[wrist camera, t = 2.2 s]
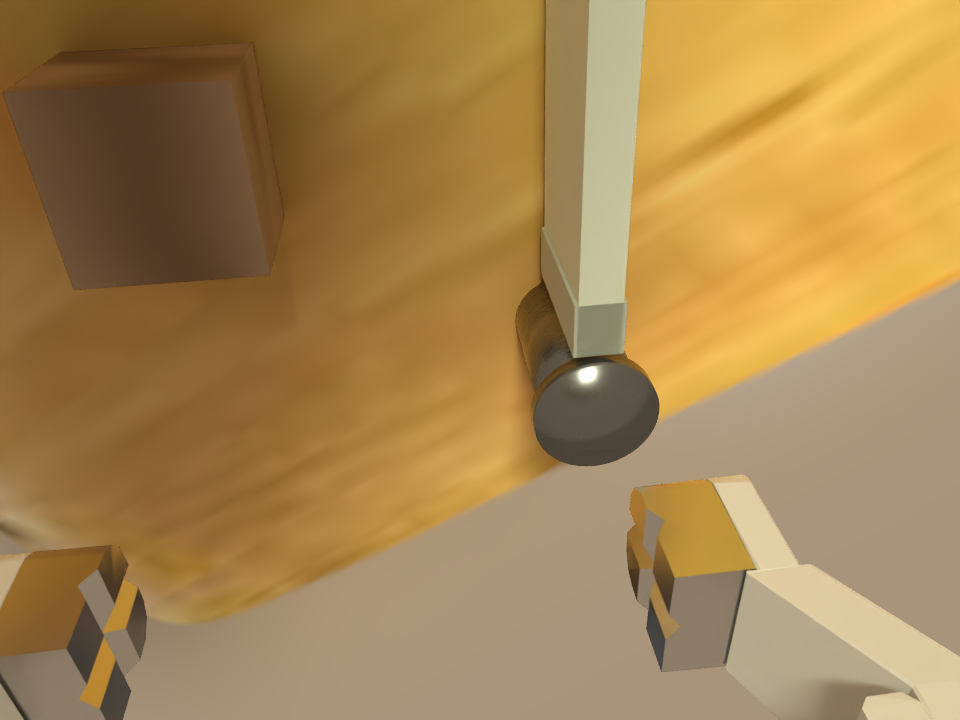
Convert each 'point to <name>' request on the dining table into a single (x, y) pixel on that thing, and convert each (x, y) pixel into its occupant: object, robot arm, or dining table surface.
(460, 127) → the dining table surface
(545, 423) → the gate posts
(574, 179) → the bar
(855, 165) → the dining table surface
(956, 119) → the dining table surface
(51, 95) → the walnut block
